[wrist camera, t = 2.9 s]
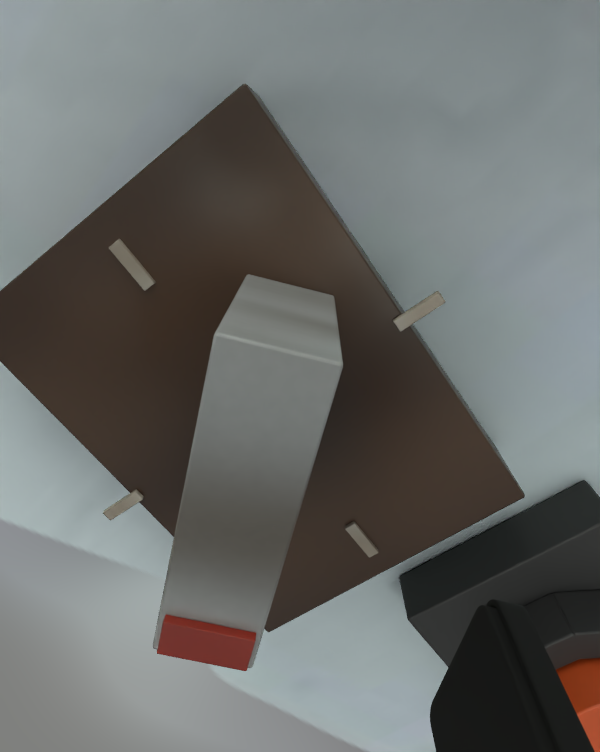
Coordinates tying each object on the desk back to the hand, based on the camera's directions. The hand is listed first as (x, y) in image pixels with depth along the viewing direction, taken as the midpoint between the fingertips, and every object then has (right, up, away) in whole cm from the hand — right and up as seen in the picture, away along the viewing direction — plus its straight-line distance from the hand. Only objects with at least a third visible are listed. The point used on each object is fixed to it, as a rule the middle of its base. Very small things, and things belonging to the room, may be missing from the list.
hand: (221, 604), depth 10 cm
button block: (+12, -6, +12) cm, 18 cm away
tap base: (0, +4, +9) cm, 10 cm away
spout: (0, +3, +6) cm, 7 cm away
